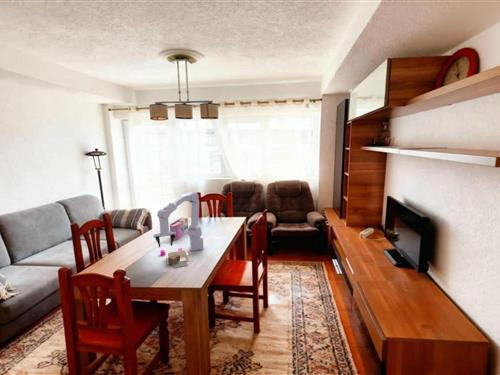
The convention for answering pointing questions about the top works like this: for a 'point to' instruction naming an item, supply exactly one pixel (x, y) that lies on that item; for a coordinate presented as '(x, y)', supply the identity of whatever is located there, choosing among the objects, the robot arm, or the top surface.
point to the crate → (182, 254)
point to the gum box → (179, 227)
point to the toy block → (165, 253)
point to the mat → (180, 264)
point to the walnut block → (174, 259)
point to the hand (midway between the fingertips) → (165, 246)
